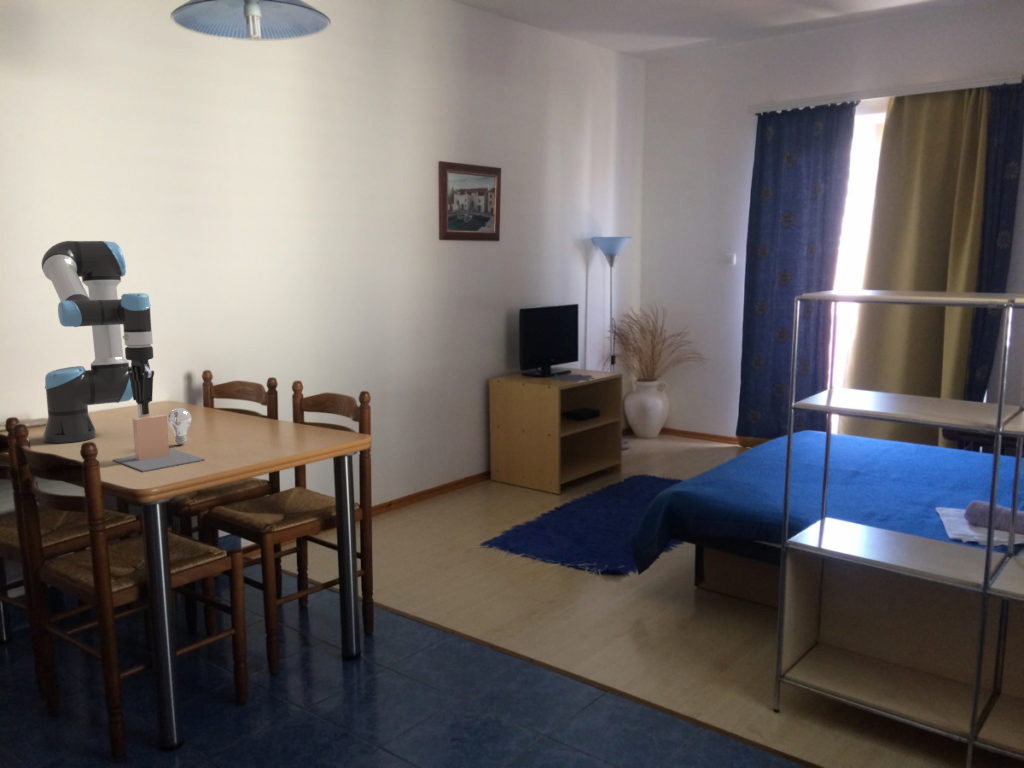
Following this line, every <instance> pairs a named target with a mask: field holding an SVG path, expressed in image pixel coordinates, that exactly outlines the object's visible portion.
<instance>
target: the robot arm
mask: <svg viewBox="0 0 1024 768" xmlns="http://www.w3.org/2000/svg"><path fill="white" fill-rule="evenodd" d="M126 267H127V266H126V260H125V256H124V253H123V251H122V248H121V246H120V245H119V244H118V243H117V242H115V241H106V240H64V241H61V242H58V243H56V244H54V245H52V246H51V247H50V248H48V250H47V251H46V252H45V253H44V255H43V257H42V259H41V269H42V273H43V274H44V276H45V277H46V279H47V280H49V281H51V283H52V285H53V287H54V290H55V292H56V294H57V296H58V299H59V303H58V304H57V305H58V306H57V315H58V320H59V324H60V325H61V326H63V327H69V328H70V327H73V328H79V327H91V331H92V341H93V351H94V360H93V361H92V362H91V363H90V369H88V370H87V369H86V368H85V367H84V366H82V365H81V366H80V365H78V366H69V367H62V368H58V369H55V370H51V371H49V372H47V373H46V375H45V377H44V378H45V379H44V382H45V385H44V389H45V395H46V404H47V405H46V407H47V408H46V409H47V420H46V425H45V428H44V432H43V441H44V442H46V443H51V444H65V443H66V444H69V443H77V442H84V441H87V440H88V441H89V440H91V439H94V438H96V437H97V434H96V433H97V432H96V429H95V426H94V423H93V422H92V419H91V417H90V415H89V409H88V406H95V405H104V404H113V403H115V404H118V403H123V402H128V401H130V400H132V399H133V401H135V403H136V404H137V418H142V417H150V405H149V404H150V403H151V402H153V391H154V390H153V389H154V388H153V387H154V375H155V371H154V370H151V369H150V368H151V367H150V362H149V360H152V359H154V347H153V346H152V344H153V343H154V341H153V331H152V319H151V301H150V296H149V294H147V293H145V292H144V293H142V292H135V293H134V292H132V293H131V292H130V293H122V294H121V296H120V299H118V289H117V287H118V285H119V284H120V283H122V277H125V275H126V272H127V268H126ZM80 277H81V279H82V280H81V279H80ZM83 284H84V285H83ZM85 286H86V288H87V289H88V293H87V290H86V289H85ZM121 325H122V326H123V335H122V331H121V329H122V327H121ZM122 339H124V340H123V341H124V345H125V348H123V342H122ZM123 349H124V351H123ZM124 353H125V355H124ZM124 356H125V357H124ZM129 361H131V362H130V363H129Z"/></svg>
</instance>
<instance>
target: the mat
mask: <svg viewBox="0 0 1024 768" xmlns="http://www.w3.org/2000/svg"><path fill="white" fill-rule="evenodd" d="M202 460H204V461H205V458H204V457H203V458H202V457H200V456H196V455H193V454H189V453H187V452H184V451H181V450H178V449H175V448H169V455H167V456H161V457H155V458H150V459H144V460H137V459H136V458H135V455H131V456H125V457H119V458H113V462H116V463H119V464H121V465H124V466H127V467H129V468H131V469H134V470H137V471H139V472H142V473H145V472H151V471H155V470H161V469H166V468H173V467H178V466H183V465H188V464H193V462H194V463H198V461H199V462H203V461H202Z"/></svg>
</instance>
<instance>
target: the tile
mask: <svg viewBox="0 0 1024 768" xmlns="http://www.w3.org/2000/svg"><path fill="white" fill-rule="evenodd" d="M132 428H133V431H132V432H133V441H134V456H135V458H136V459H137V460H144V459H150V458H155V457H161V456H167V455H169V449H170V443H169V431H168V430H169V429H168V416H167V415H165V414H157V415H152V416H150V417H142V418H138V417H137V418H132Z"/></svg>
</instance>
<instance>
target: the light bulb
mask: <svg viewBox="0 0 1024 768" xmlns="http://www.w3.org/2000/svg"><path fill="white" fill-rule="evenodd" d="M191 422H192V414H191V413H190V411H189V410H187V409H186V408H183V407H176V408H173V409H172V410H171V411H170V413H169V414H168V416H167V424H168V425H169V427H170V428H171V429H172V431H173V435H174V438H175V443H176V444H177V445H178V446H184V445H185V443H187V442H188V441H187V434H188V430H189V428H190V425H191Z"/></svg>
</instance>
